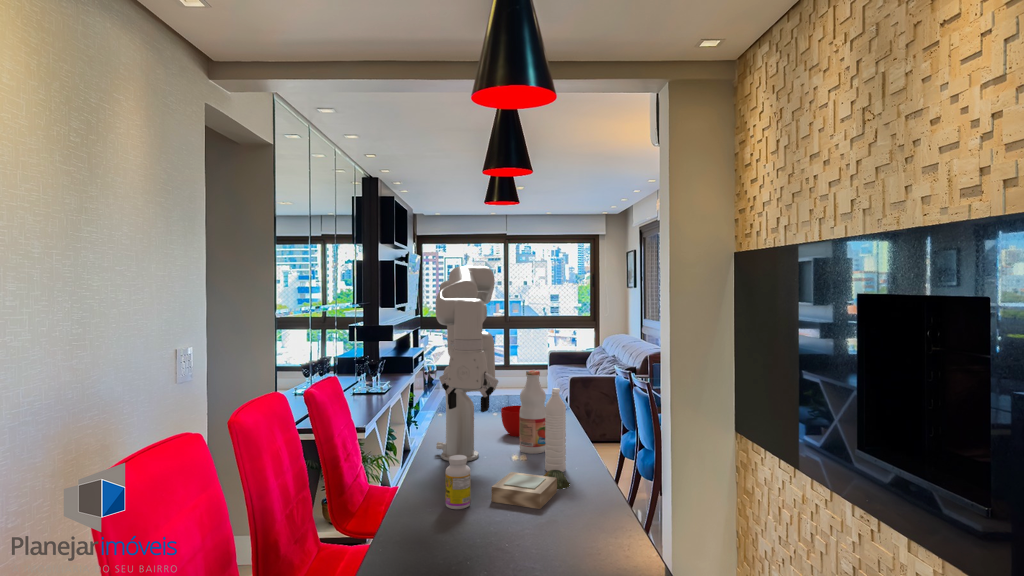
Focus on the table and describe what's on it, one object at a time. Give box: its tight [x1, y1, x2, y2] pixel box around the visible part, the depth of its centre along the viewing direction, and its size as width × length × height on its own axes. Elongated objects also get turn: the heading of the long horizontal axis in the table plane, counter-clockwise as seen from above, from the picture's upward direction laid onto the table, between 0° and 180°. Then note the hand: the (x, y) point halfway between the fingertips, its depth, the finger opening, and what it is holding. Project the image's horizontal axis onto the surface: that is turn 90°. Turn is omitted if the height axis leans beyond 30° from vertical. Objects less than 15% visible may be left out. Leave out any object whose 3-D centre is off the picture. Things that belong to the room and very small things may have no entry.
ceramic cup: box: [500, 405, 521, 438], centre depth 237 cm, size 13×17×10 cm
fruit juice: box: [519, 369, 547, 455], centre depth 213 cm, size 9×9×28 cm
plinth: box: [490, 471, 558, 510], centre depth 167 cm, size 14×14×4 cm
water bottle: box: [544, 387, 567, 473], centre depth 192 cm, size 9×6×25 cm
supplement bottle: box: [444, 455, 472, 510], centre depth 160 cm, size 7×7×13 cm
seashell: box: [542, 470, 571, 490], centre depth 177 cm, size 10×4×10 cm
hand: (468, 409), depth 161 cm, fingers open, 9 cm apart
